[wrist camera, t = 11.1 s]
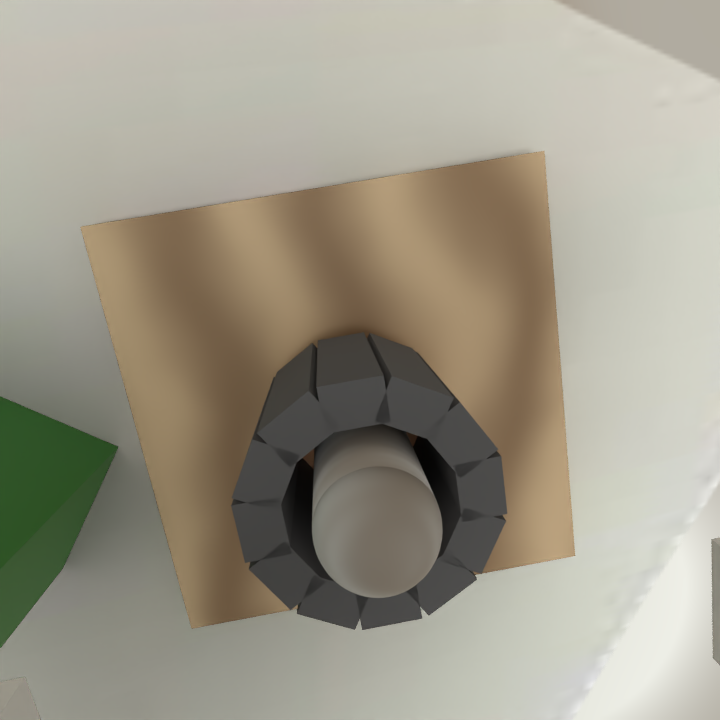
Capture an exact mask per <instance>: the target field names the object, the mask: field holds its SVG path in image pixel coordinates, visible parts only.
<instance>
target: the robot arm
mask: <svg viewBox="0 0 720 720" xmlns="http://www.w3.org/2000/svg"><path fill="white" fill-rule="evenodd" d="M712 613H713V614H712V619H713V620H712V622H713V658H714V660H715V661H716V662H717V663H718V664H719V665H720V538H715V539H712ZM0 720H41V719H40V716H39V714H38V711H37V708H36V705H35V703H34V700H33V697H32V695H31V692H30V689H29V686H28V684H27V681H26V678H25V677H21V678H16V679H11V680H6V681H1V682H0Z"/></svg>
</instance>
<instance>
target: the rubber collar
mask: <svg viewBox="0 0 720 720" xmlns="http://www.w3.org/2000/svg"><path fill="white" fill-rule="evenodd" d="M378 424H385V425H388V426H391V427H393V428H396V429H399V430H402V431H405V432H408V433H411V434H414V435H417V439H416V441H415V443H414V446H413V449H414V451H415V453H416V455H417V458H418V460H419V462H420V465H421V467H422V469H423V471H424V474H425V476H426V478H427V480H428V483H429V485H430V487H431V489H432V492H433V494H434V496H435V499H436V501H437V504H438V506H439V509H440V513H441V517H442V528H443V534H442V542H441V547H440V551H439V554H438V557H437V559H436V561H435V563H434V565H433V566H432V568H431V570H430V571H429V572H428V574H427V575H426V576H425V577H424V578H423V579H422V580H421V581H420V582H419V583H418V584H416V585H415V586H414V587H412V588H411V589H409V590H407V591H405V592H403V593H401V594H398V595H395V596H391V597H385V598H371V597H365V596H361V595H358V594H355V593H352V592H350V591H348V590H346V589H345V588H343V587H342V586H340V585H339V584H338V583H337V582H335V581H334V580H333V579H332V578H331V577H330V576H329V574H328V573H327V572H326V571H325V569H324V568H323V566H322V564H321V563H320V561H319V559H318V557H317V554H316V551H315V548H314V544H313V537H312V507H313V474H314V469H313V468H312V467H311V466H310V465H309V464H308V463H307V462H306V461H305V460H304V459H303V457H304V456H305V455H307V454H308V453H309V452H310V451H312V450H313V449H314V448H315V447H317V446H318V445H319V444H320V443H321V442H323V441H324V440H325V439H326V438H328V437H329V436H330V435H331V434H333V433H334V432H339V431H345V430H350V429H356V428H361V427H367V426H372V425H378ZM497 450H498V448H497V447H496V446H495V445H494V443H493V442H492V441H491V440H490V438H489V437H488V436H487V435H486V433H485V432H484V431H483V430H482V428H481V427H480V426H479V425H478V424H477V422H476V421H475V420H474V419H473V417H472V416H471V415H470V414H469V412H468V411H467V410H466V409H465V408H464V406H463V405H462V404H461V403H460V401H459V400H458V399H457V398H456V397H455V396H454V394H453V393H452V392H451V391H450V390H449V389H448V387H447V386H446V385H445V384H444V383H443V381H442V380H441V379H440V378H439V377H438V376H437V374H436V373H435V372H434V371H433V370H432V369H431V367H430V366H429V365H428V364H427V363H426V362H425V360H424V359H423V358H422V357H421V356H420V354H419V353H418V352H415V351H414V350H413V348H410V347H408V346H405V345H402V344H399V343H397V342H394V341H391V340H388V339H385V338H383V337H380V336H377V335H374V334H372V333H369V336H368V338H366V336H365V334H364V332H362V333H357V334H351V335H345V336H339V337H334V338H328V339H322V340H318V348H317V347H316V346H315V345H314V344H313V343H311V344H310V345H309V346H308V347H307V348H305V349H304V350H303V351H302V352H301V353H299V354H298V355H297V356H296V357H295V358H293V359H292V360H291V361H290V362H288V363H287V364H286V365H285V366H284V367H282V368H281V369H280V370H279V371H278V372H277V373H276V376H275V377H273V380H272V383H271V386H270V389H269V391H268V394H267V397H266V400H265V403H264V405H263V408H262V411H261V414H260V417H259V420H258V423H257V425H256V428H255V431H254V434H253V437H252V440H251V443H250V446H249V449H248V452H247V455H246V457H245V460H244V463H243V466H242V469H241V472H240V475H239V478H238V481H237V484H236V487H235V489H234V492H233V495H232V499H233V502H232V505H231V507H232V511H233V516H234V520H235V524H236V528H237V532H238V536H239V540H240V545H241V549H242V553H243V557H244V561H245V563H248V562H250V565H249V570H250V571H251V572H252V573H253V574H254V575H255V576H256V577H257V578H258V579H259V580H260V581H261V582H262V583H263V584H264V585H265V586H266V587H267V588H268V589H269V590H270V591H271V592H272V593H273V594H275V595H276V596H277V597H278V598H279V599H280V600H281V601H282V602H283V603H284V604H285V605H286V606H287V607H288V608H289V609H290V610H292V609H293V608H294V607H295V606H297V605H298V606H297V614H300V615H303V616H307V617H310V618H314V619H318V620H321V621H325V622H329V623H332V624H336V625H340V626H343V627H347V628H351V629H354V630H355V628H356V626H357V624H358V621H359V619H360V620H361V625H362V630H365V629H370V628H375V627H380V626H386V625H391V624H396V623H401V622H406V621H411V620H417V619H422V615H421V609H420V607H421V608H422V609H423V610H424V611H425V612H426V613H427V614H428V615H430V614H431V613H433V612H434V611H435V610H437V609H438V608H439V607H441V606H442V605H443V604H445V603H446V602H447V601H449V600H450V599H451V598H453V597H454V596H455V595H457V594H458V593H459V592H461V591H462V590H463V589H465V588H466V587H467V586H469V585H470V584H471V583H473V582H474V581H475V580H477V579H476V576H475V574H474V572H477V573H480V574H482V572H483V570H484V567H485V565H486V563H487V561H488V559H489V557H490V555H491V553H492V550H493V548H494V546H495V544H496V542H497V540H498V538H499V535H500V533H501V531H502V529H503V527H504V525H505V523H506V520H505V518H504V517H503V515H504V514H507V504H506V495H505V486H504V477H503V467H502V458H501V455H500V454H499V453H498V452H497ZM473 571H474V572H473Z"/></svg>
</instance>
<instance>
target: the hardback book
mask: <svg viewBox="0 0 720 720" xmlns="http://www.w3.org/2000/svg"><path fill="white" fill-rule="evenodd" d="M117 449H118V447H117V446H115V445H113V444H110V443H108V442H106V441H103V440H101V439H99V438H96V437H94V436H92V435H89V434H87V433H85V432H82V431H80V430H78V429H75V428H73V427H70V426H68V425H66V424H63V423H61V422H59V421H56V420H54V419H52V418H49V417H47V416H45V415H42V414H40V413H38V412H35V411H33V410H31V409H28V408H26V407H24V406H21V405H19V404H17V403H14V402H12V401H10V400H7V399H5V398H3V397H0V648H1V647H2V646H3V644H4V643H5V642H6V640H7V639H8V638H9V637H10V635H11V634H12V633H13V631H14V630H15V629H16V628H17V626H18V625H19V624H20V622H21V621H22V620H23V619H24V617H25V616H26V615H27V614H28V612H29V611H30V610H31V608H32V607H33V606H34V605H35V603H36V602H37V601H38V599H39V598H40V597H41V596H42V594H43V593H44V592H45V590H46V589H47V588H48V587H49V585H50V584H51V583H52V582H53V580H54V579H55V578H56V576H57V575H58V574H59V573H60V571H61V570H62V569H63V567H64V565H65V562H66V560H67V558H68V556H69V554H70V551H71V549H72V547H73V545H74V543H75V541H76V538H77V536H78V534H79V532H80V530H81V527H82V525H83V523H84V521H85V519H86V517H87V514H88V512H89V510H90V508H91V506H92V504H93V501H94V499H95V497H96V495H97V493H98V490H99V488H100V486H101V484H102V482H103V480H104V477H105V475H106V473H107V471H108V469H109V466H110V464H111V462H112V460H113V458H114V456H115V453H116V451H117Z"/></svg>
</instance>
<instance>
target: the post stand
mask: <svg viewBox="0 0 720 720" xmlns="http://www.w3.org/2000/svg"><path fill="white" fill-rule="evenodd" d="M81 231H82V235H83V238H84V242H85V245H86V249H87V253H88V256H89V260H90V263H91V267H92V271H93V274H94V278H95V282H96V285H97V289H98V292H99V296H100V300H101V303H102V307H103V310H104V314H105V318H106V321H107V325H108V328H109V332H110V336H111V339H112V343H113V347H114V350H115V354H116V357H117V361H118V365H119V368H120V372H121V375H122V379H123V383H124V386H125V390H126V393H127V397H128V401H129V404H130V408H131V412H132V415H133V419H134V422H135V426H136V430H137V433H138V437H139V440H140V444H141V448H142V451H143V455H144V458H145V462H146V466H147V469H148V473H149V477H150V480H151V484H152V487H153V491H154V495H155V498H156V502H157V505H158V509H159V513H160V516H161V520H162V524H163V527H164V531H165V534H166V538H167V542H168V545H169V549H170V552H171V556H172V560H173V563H174V567H175V570H176V574H177V578H178V581H179V585H180V589H181V592H182V596H183V599H184V603H185V607H186V610H187V614H188V617H189V621H190V625H191V628H192V629H193V628H198V627H203V626H208V625H214V624H219V623H224V622H229V621H235V620H240V619H245V618H250V617H256V616H261V615H266V614H271V613H277V612H282V611H287V610H290V609H289V608H288V607H287V606H286V605H285V604H284V603H283V602H282V601H281V600H280V599H279V598H278V597H277V596H276V595H275V594H273V593H272V592H271V591H270V590H269V589H268V588H267V587H266V586H265V585H264V584H263V583H262V582H261V581H260V580H259V579H258V578H257V577H256V576H255V575H254V574H253V573H252V572H251V571H250V570H249V565H250V562H248V563H245V561H244V557H243V553H242V549H241V545H240V540H239V536H238V532H237V528H236V524H235V520H234V516H233V511H232V507H231V505H232V502H233V499H232V495H233V492H234V489H235V487H236V484H237V481H238V478H239V475H240V472H241V469H242V466H243V463H244V460H245V457H246V455H247V452H248V449H249V446H250V443H251V440H252V437H253V434H254V431H255V428H256V425H257V423H258V420H259V417H260V414H261V411H262V408H263V405H264V403H265V400H266V397H267V394H268V391H269V389H270V386H271V383H272V380H273V377H275V376H276V373H277V372H278V371H279V370H280V369H281V368H282V367H284V366H285V365H286V364H287V363H288V362H290V361H291V360H292V359H293V358H295V357H296V356H297V355H298V354H299V353H301V352H302V351H303V350H304V349H305V348H307V347H308V346H309V345H310V344H311V343H313V344H314V345H315V346H316V347H317V348H318V340H322V339H328V338H334V337H339V336H345V335H351V334H357V333H362V332H364V334H365V336H366V338H368V336H369V333H372V334H374V335H377V336H380V337H383V338H385V339H388V340H391V341H394V342H397V343H399V344H402V345H405V346H408V347H410V348H413V350H414V351H415V352H418V353H419V354H420V356H421V357H422V358H423V359H424V360H425V362H426V363H427V364H428V365H429V366H430V367H431V369H432V370H433V371H434V372H435V373H436V374H437V376H438V377H439V378H440V379H441V380H442V381H443V383H444V384H445V385H446V386H447V387H448V389H449V390H450V391H451V392H452V393H453V394H454V396H455V397H456V398H457V399H458V400H459V401H460V403H461V404H462V405H463V406H464V408H465V409H466V410H467V411H468V412H469V414H470V415H471V416H472V417H473V419H474V420H475V421H476V422H477V424H478V425H479V426H480V427H481V428H482V430H483V431H484V432H485V433H486V435H487V436H488V437H489V438H490V440H491V441H492V442H493V443H494V445H495V446H496V447H497V448H498V450H497V452H498V453H499V454H500V455H501V458H502V467H503V477H504V486H505V495H506V504H507V514H504V515H503V517H504V518H505V520H506V523H505V525H504V527H503V529H502V531H501V533H500V535H499V538H498V540H497V542H496V544H495V546H494V548H493V550H492V553H491V555H490V557H489V559H488V561H487V563H486V565H485V567H484V570H483V572H482V573H487V572H492V571H498V570H503V569H508V568H514V567H519V566H524V565H529V564H535V563H540V562H545V561H550V560H556V559H561V558H566V557H571V556H575V549H574V536H573V522H572V509H571V496H570V483H569V470H568V457H567V443H566V430H565V417H564V404H563V391H562V378H561V365H560V351H559V338H558V325H557V312H556V299H555V286H554V272H553V259H552V246H551V233H550V220H549V207H548V193H547V180H546V167H545V154H544V151H541V152H535V153H529V154H523V155H517V156H511V157H504V158H498V159H492V160H486V161H480V162H474V163H468V164H462V165H456V166H449V167H443V168H437V169H431V170H425V171H419V172H413V173H407V174H400V175H394V176H388V177H382V178H376V179H370V180H364V181H358V182H352V183H345V184H339V185H333V186H327V187H321V188H315V189H309V190H303V191H297V192H290V193H284V194H278V195H272V196H266V197H260V198H254V199H248V200H241V201H235V202H229V203H223V204H217V205H211V206H205V207H199V208H193V209H186V210H180V211H174V212H168V213H162V214H156V215H150V216H144V217H138V218H131V219H125V220H119V221H113V222H107V223H101V224H95V225H89V226H82V227H81ZM416 439H417V435H414V434H411V433H408V432H405V431H402V430H399V429H396V428H393V427H391V426H388V425H385V424H378V425H372V426H367V427H361V428H356V429H350V430H345V431H339V432H334V433H333V434H331V435H330V436H329V437H328V438H326V439H325V440H324V441H323V442H321V443H320V444H319V445H318V446H317V447H315V448H314V449H313V450H312V451H310V452H309V453H308V454H307V455H305V456H304V457H303V459H304V460H305V461H306V462H307V463H308V464H309V465H310V466H311V467H312V468H313V469H314V474H313V507H312V537H313V544H314V548H315V551H316V554H317V557H318V559H319V561H320V563H321V564H322V566H323V568H324V569H325V571H326V572H327V573H328V574H329V576H330V577H331V578H332V579H333V580H334V581H335V582H337V583H338V584H339V585H340V586H342V587H343V588H345V589H346V590H348V591H350V592H352V593H355V594H358V595H361V596H365V597H371V598H385V597H391V596H395V595H398V594H401V593H403V592H405V591H407V590H409V589H411V588H412V587H414V586H415V585H416V584H418V583H419V582H420V581H421V580H422V579H423V578H424V577H425V576H426V575H427V574H428V572H429V571H430V570H431V568H432V566H433V565H434V563H435V561H436V559H437V557H438V554H439V551H440V547H441V542H442V534H443V528H442V517H441V513H440V509H439V506H438V504H437V501H436V499H435V496H434V494H433V492H432V489H431V487H430V485H429V483H428V480H427V478H426V476H425V474H424V471H423V469H422V467H421V465H420V462H419V460H418V458H417V455H416V453H415V451H414V449H413V446H414V443H415V441H416ZM473 572H474V571H473ZM474 574H475V575H477V574H480V573H477V572H474ZM297 606H298V605H297ZM297 606H295V607H294V608H293V609H297ZM293 609H292V610H293Z"/></svg>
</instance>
